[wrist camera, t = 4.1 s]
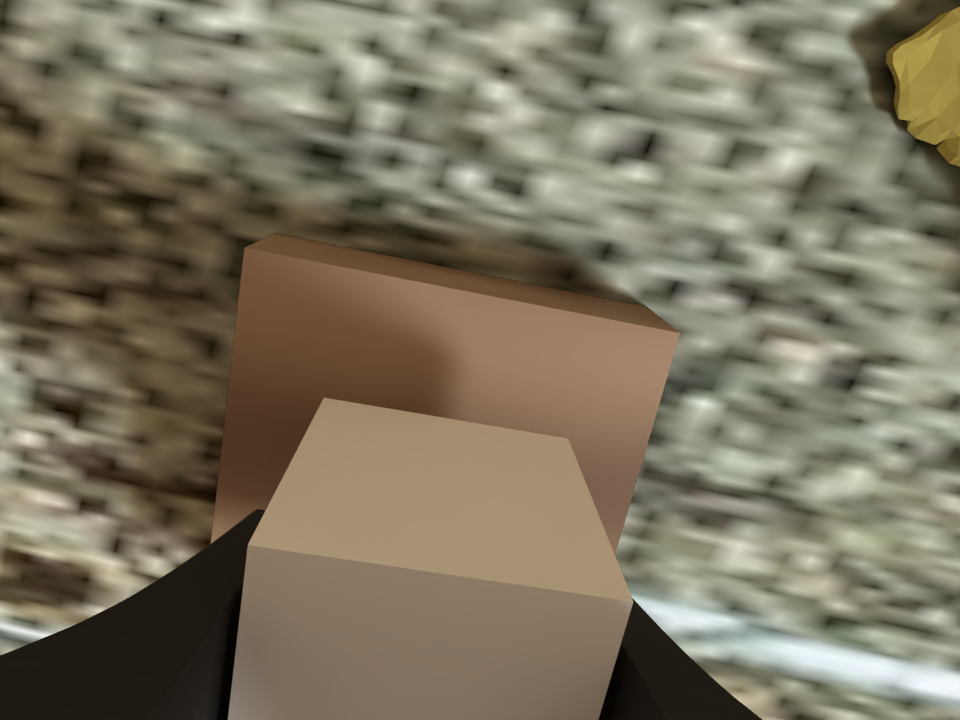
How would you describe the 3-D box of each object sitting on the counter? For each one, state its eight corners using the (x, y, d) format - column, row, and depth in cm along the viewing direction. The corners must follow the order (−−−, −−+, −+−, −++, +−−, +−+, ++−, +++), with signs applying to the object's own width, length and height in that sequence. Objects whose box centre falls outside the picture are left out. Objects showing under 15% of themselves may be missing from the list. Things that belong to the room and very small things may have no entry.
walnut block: (558, 608, 20) (576, 685, 17) (238, 559, 19) (200, 631, 16) (642, 303, 18) (679, 333, 15) (279, 230, 17) (244, 248, 14)
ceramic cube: (518, 641, 15) (550, 883, 10) (294, 610, 14) (212, 846, 9) (567, 438, 13) (633, 601, 8) (323, 397, 13) (248, 544, 8)
